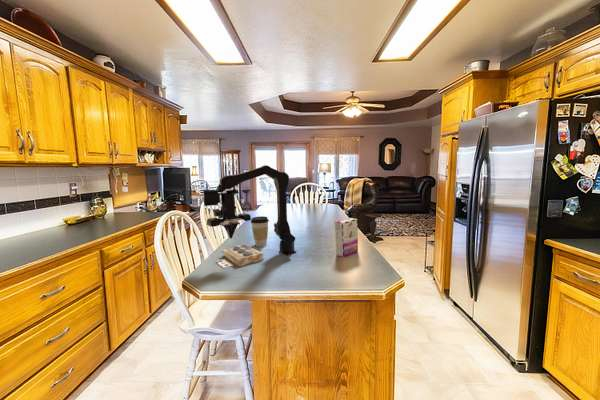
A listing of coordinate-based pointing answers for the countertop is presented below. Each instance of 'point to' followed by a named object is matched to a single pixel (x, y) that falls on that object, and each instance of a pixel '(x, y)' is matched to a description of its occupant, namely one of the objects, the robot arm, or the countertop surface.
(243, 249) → the button middle
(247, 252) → the button
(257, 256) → the button board
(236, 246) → the button
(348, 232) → the candy bar box
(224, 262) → the card
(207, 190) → the robot arm
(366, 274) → the countertop surface
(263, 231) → the coffee cup
